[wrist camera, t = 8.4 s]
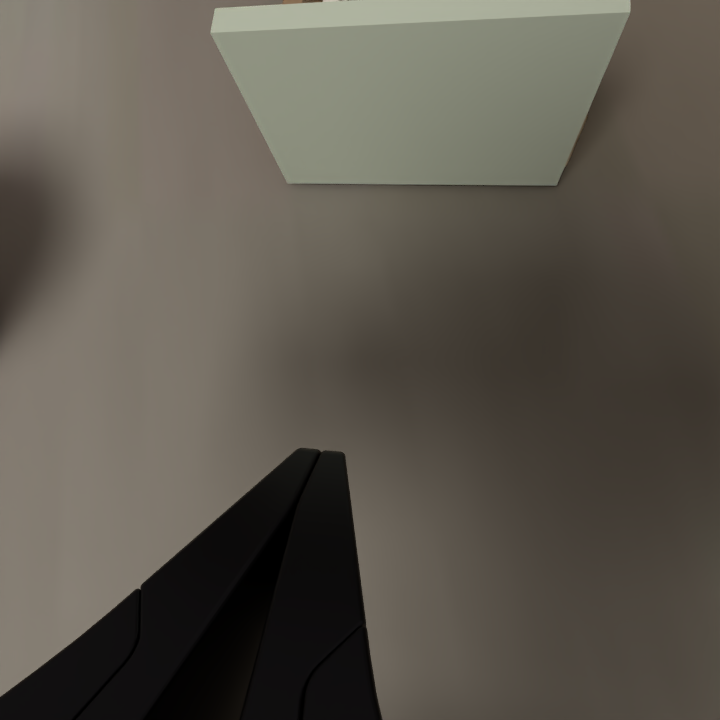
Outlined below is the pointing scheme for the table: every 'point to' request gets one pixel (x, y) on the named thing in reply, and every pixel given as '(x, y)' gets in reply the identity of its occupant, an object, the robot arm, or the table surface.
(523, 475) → the table surface
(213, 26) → the drawer
